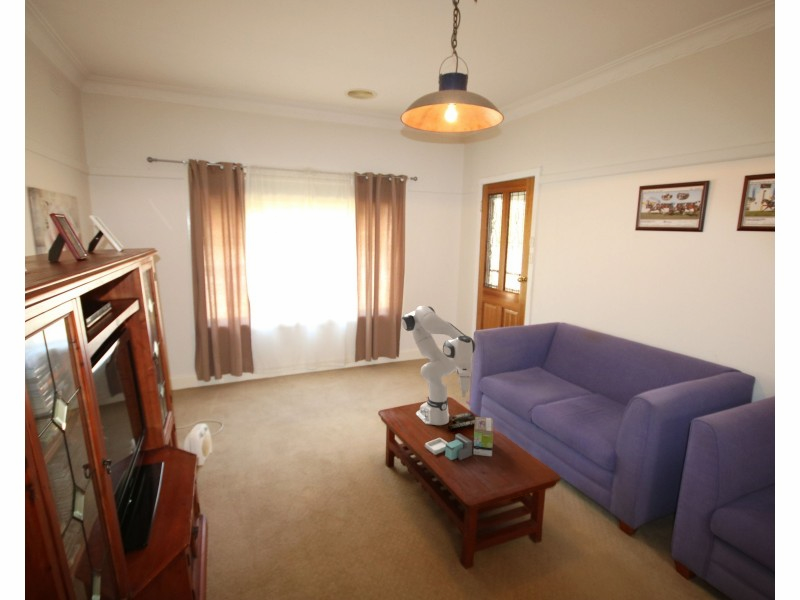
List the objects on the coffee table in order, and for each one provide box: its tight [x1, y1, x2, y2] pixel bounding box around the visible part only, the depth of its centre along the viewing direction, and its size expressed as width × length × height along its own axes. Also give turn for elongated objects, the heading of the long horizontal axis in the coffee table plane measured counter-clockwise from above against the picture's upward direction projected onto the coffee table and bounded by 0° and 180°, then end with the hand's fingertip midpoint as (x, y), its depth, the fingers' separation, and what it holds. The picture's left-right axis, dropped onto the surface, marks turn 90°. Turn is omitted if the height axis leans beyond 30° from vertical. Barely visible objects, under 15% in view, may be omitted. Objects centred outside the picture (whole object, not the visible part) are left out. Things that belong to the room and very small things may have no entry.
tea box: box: [472, 416, 495, 457], centre depth 214 cm, size 15×10×15 cm, turn 168°
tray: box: [424, 437, 448, 455], centre depth 215 cm, size 9×11×2 cm
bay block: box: [454, 433, 473, 461], centre depth 210 cm, size 10×8×8 cm
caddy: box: [444, 439, 463, 461], centre depth 208 cm, size 5×8×7 cm, turn 125°
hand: (462, 392), depth 207 cm, fingers open, 8 cm apart
